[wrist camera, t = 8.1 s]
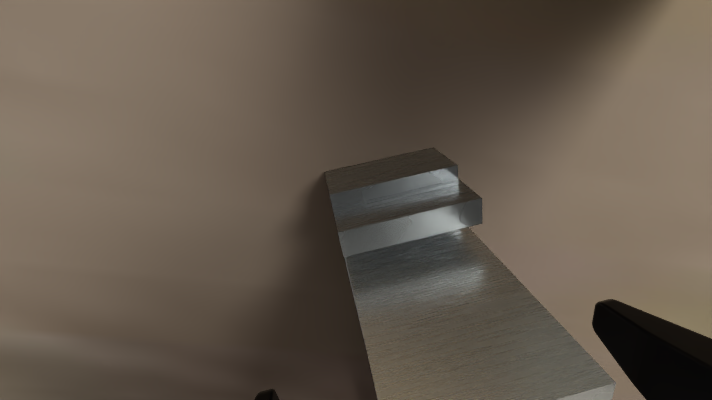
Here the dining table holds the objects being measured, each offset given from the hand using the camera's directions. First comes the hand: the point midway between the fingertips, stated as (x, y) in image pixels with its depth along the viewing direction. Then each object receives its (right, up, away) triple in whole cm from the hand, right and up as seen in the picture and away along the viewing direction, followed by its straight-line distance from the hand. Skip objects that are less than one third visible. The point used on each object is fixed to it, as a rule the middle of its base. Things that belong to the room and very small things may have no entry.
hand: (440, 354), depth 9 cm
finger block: (0, +1, +3) cm, 3 cm away
